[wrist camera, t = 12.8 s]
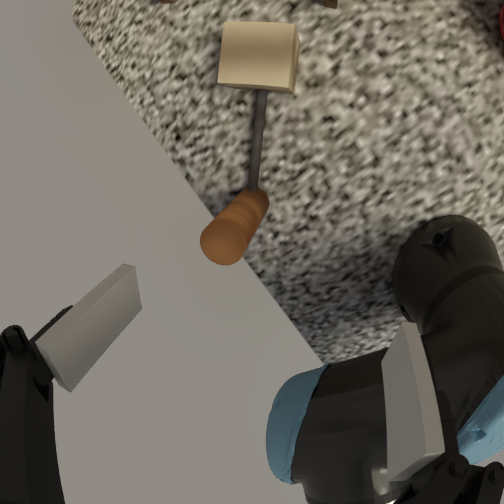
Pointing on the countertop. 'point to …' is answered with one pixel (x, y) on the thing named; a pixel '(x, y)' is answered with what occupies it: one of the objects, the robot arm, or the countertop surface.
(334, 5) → the lane rack
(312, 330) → the countertop surface
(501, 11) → the plant pot
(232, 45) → the corded block
